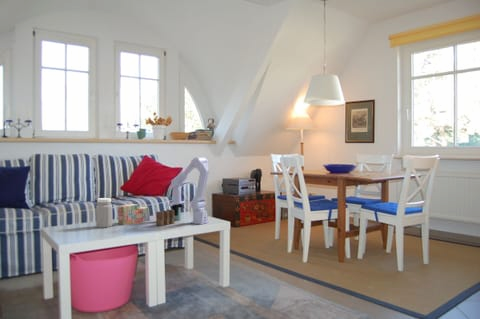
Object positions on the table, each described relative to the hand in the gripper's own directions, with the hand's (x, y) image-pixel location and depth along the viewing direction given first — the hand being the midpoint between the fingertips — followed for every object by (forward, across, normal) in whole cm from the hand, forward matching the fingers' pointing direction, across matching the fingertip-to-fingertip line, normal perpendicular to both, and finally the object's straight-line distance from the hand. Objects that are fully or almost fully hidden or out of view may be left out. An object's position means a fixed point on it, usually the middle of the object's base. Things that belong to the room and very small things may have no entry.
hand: (177, 215), depth 272 cm
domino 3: (+3, +12, +4) cm, 13 cm away
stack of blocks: (+4, +22, -19) cm, 29 cm away
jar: (+4, +43, -23) cm, 49 cm away
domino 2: (+3, +16, +4) cm, 17 cm away
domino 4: (+3, 0, 0) cm, 3 cm away
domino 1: (+3, +22, +4) cm, 22 cm away
